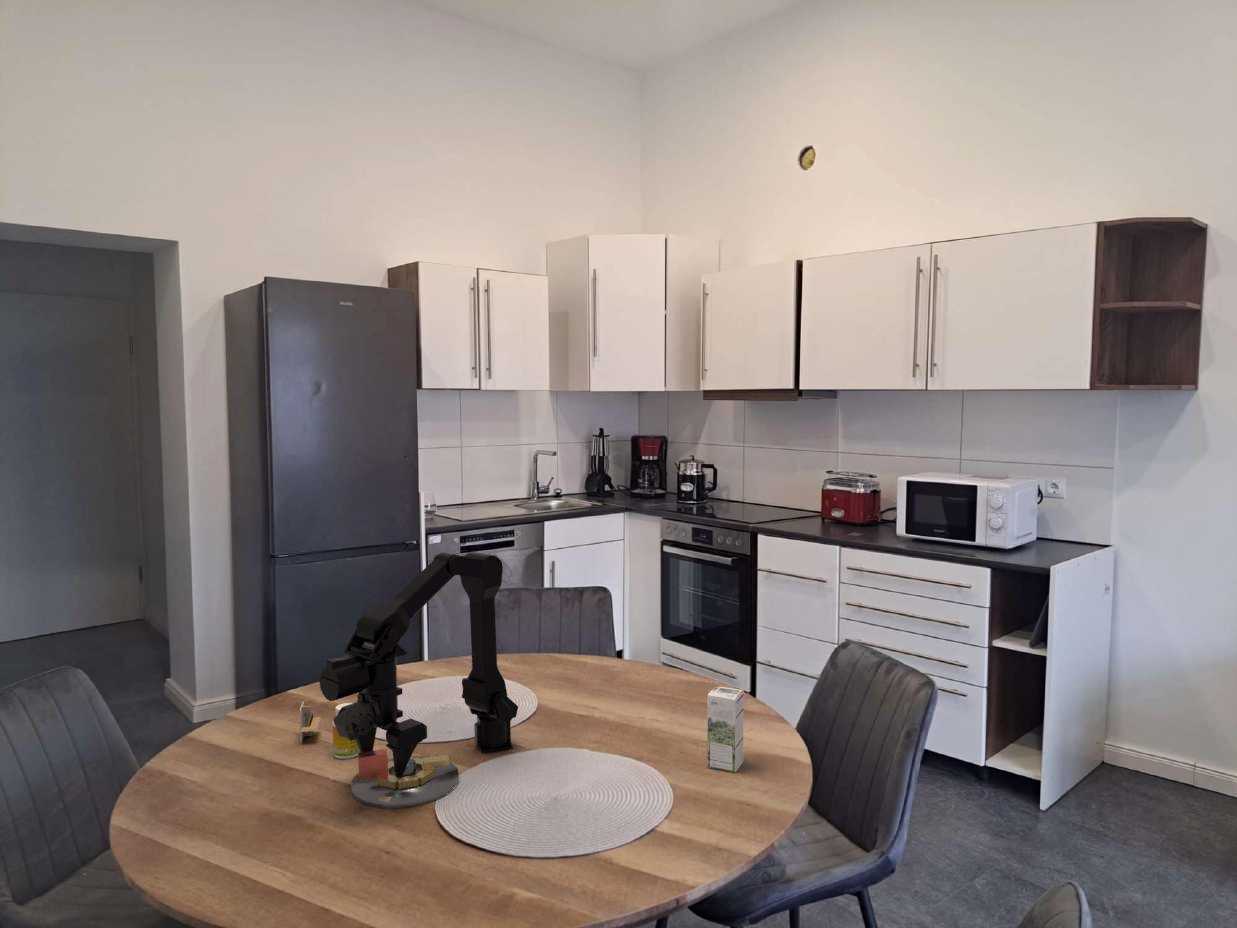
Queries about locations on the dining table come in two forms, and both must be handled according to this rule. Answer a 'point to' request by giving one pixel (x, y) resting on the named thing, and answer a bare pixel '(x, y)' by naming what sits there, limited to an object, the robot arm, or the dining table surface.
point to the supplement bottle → (343, 742)
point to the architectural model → (307, 721)
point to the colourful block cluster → (381, 768)
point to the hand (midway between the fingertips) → (382, 769)
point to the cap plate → (391, 798)
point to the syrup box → (725, 728)
